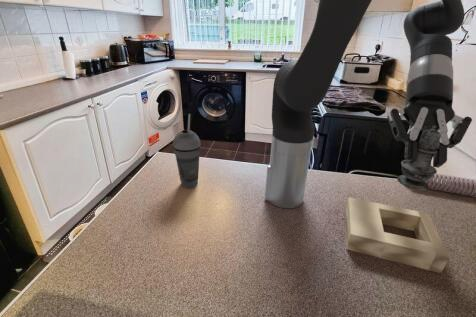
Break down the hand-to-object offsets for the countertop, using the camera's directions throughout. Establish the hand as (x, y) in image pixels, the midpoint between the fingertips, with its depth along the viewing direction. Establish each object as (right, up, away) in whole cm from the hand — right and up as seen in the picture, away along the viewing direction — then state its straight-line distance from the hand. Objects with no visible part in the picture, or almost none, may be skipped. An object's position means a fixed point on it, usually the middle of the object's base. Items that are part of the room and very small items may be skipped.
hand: (424, 163), depth 47 cm
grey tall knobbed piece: (0, -4, +4) cm, 6 cm away
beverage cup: (-48, -6, +25) cm, 54 cm away
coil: (+22, -8, +26) cm, 35 cm away
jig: (-3, -16, +8) cm, 18 cm away
